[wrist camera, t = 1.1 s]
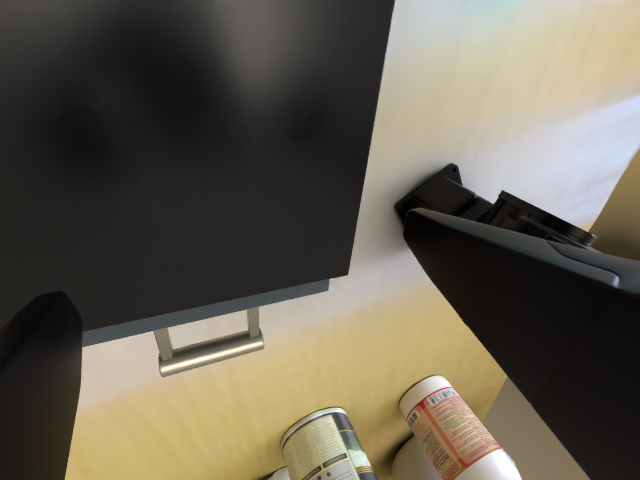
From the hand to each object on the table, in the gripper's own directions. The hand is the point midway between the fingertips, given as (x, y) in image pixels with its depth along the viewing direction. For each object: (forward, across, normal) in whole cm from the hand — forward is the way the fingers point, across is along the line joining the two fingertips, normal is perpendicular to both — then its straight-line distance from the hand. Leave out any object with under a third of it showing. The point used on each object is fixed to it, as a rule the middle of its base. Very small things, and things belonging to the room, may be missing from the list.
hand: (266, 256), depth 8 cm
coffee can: (+13, -6, +42) cm, 45 cm away
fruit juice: (+13, -25, +46) cm, 54 cm away
